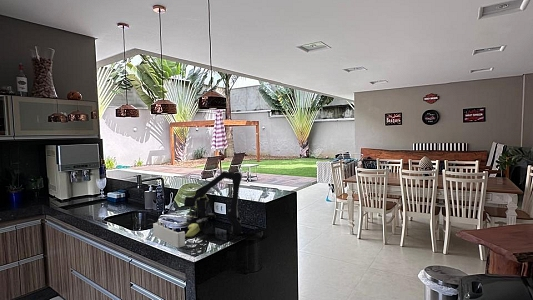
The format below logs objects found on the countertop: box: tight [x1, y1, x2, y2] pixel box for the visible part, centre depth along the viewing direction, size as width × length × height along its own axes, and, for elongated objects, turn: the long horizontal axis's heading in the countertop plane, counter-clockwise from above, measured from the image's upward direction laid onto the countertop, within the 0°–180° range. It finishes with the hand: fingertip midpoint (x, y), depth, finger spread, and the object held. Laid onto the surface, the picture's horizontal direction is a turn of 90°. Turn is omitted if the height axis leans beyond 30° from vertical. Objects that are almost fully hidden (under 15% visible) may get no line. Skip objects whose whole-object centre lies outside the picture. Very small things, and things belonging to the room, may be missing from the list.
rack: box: [152, 220, 186, 249], centre depth 176 cm, size 30×5×11 cm, turn 46°
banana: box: [185, 223, 201, 238], centre depth 189 cm, size 14×6×20 cm
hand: (201, 231), depth 188 cm, fingers closed
